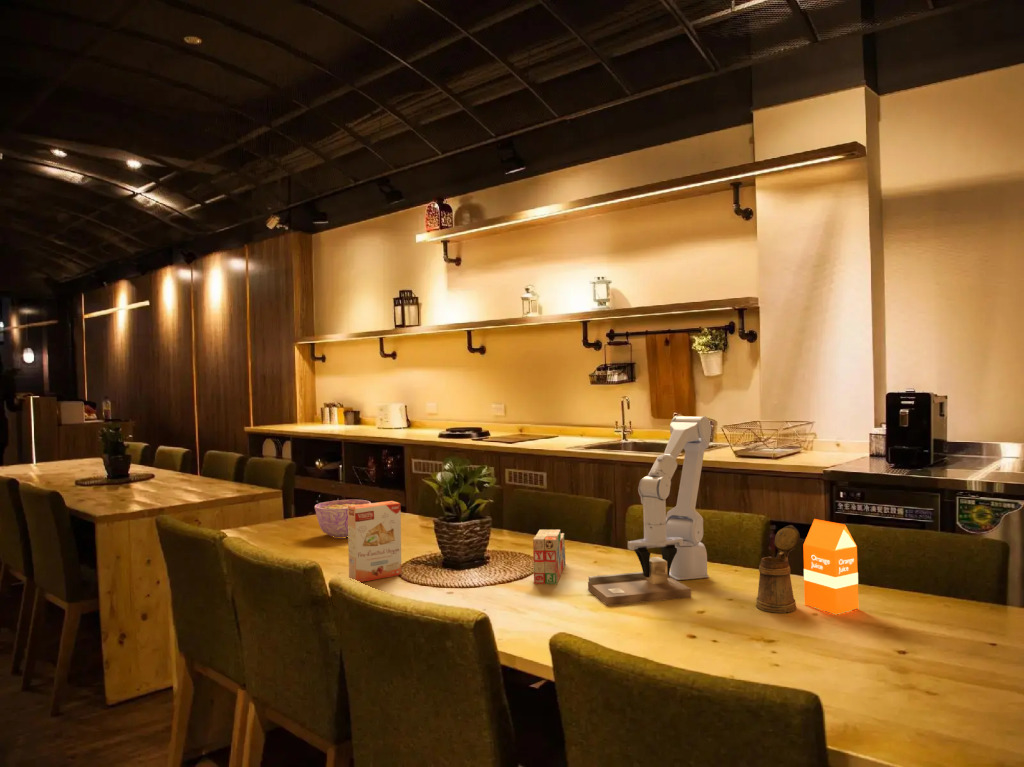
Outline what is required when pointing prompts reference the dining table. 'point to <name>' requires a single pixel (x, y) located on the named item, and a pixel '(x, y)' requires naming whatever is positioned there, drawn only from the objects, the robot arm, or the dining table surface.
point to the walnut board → (634, 589)
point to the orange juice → (830, 568)
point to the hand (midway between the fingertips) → (656, 575)
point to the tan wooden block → (657, 571)
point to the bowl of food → (335, 516)
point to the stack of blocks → (548, 556)
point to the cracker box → (374, 540)
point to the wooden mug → (778, 575)
